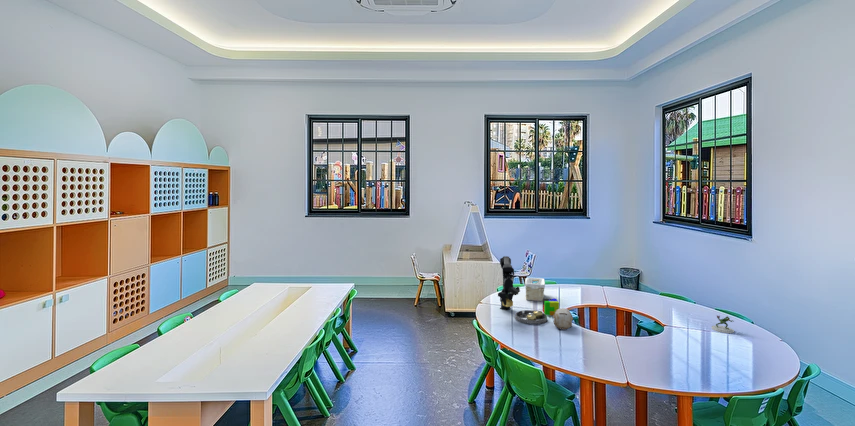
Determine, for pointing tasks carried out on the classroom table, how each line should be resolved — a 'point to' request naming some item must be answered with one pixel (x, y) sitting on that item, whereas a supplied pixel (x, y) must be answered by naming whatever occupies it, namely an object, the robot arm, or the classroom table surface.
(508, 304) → the planet gear
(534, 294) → the storage basket
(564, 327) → the coin bank
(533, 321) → the tray
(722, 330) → the monster figurine
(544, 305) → the puzzle toy
